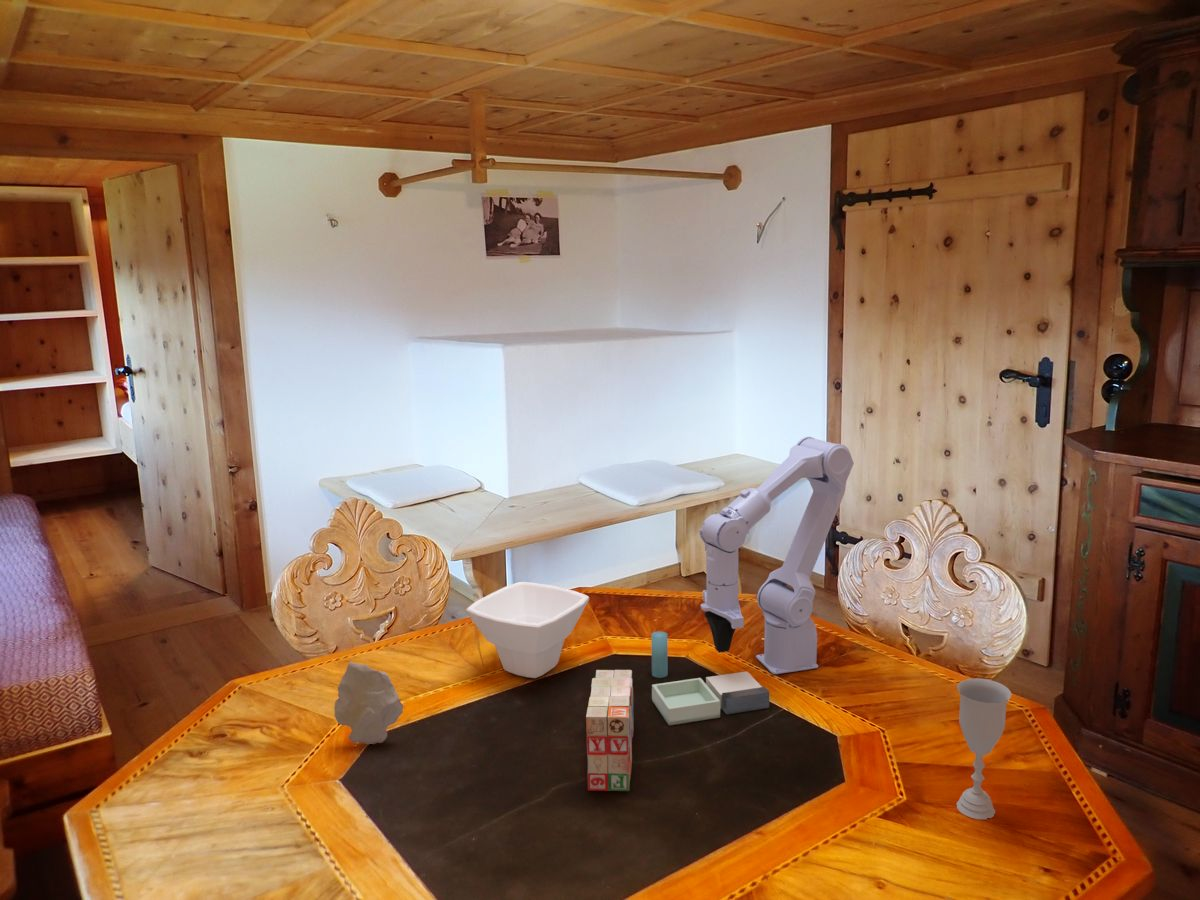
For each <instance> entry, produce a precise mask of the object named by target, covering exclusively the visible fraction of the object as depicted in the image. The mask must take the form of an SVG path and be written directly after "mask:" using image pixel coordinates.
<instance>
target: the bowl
mask: <svg viewBox="0 0 1200 900" xmlns="http://www.w3.org/2000/svg"><path fill="white" fill-rule="evenodd" d="M589 601H590V597H589V596H588V595H587V594H584V593H581V592H579V591H576V590H572V589H569V588H568V589H567V588H564V587H561V586H556V585H550V584H545V583H538V582H530V581H529V582H527V581H519V582H516V583H511V584H509V585H506V586H504V587H501V588H500V589H497V590H496V591H493V592H491V593H490V594H487V595H486V596H484V597H482V598H480V599H477V600H475V601H474V602H473V603H471V605H469V606H468V607H467V608H466V610H465V611H466V614H467V615H468V616H469V617H470V619H471V621H472V622H473V623H474V624H475V626H476V627H477V629H478V630H479V632H480V633H481V634H482V635H483V637H484V638H485V640H486V641H487V642H489V643H490V644H492V645H494V647H495V650H496V653H497V655H498V658H499V659H500V662H501V665H502V667H503V669H504V671H507V672H508V673H511V674H514V675H516V676H519V677H524V678H531V679H537V678H539V677H541V676H544V675H545V674H546V673H548V672H550V671H551V670H552V669H554V668H555V667H556V666H557V665H558V663H559V662H560V657H561V653H562V650H563V647H564V642H565V639H566V638H568V637H569V635H571V633H572V632H573V631H574V628H575V626H576V625H577V622H578V621H579V619H580V617H581V616H582V614H583V611H584V610H585V608H586V606H587V604H588V602H589Z"/></svg>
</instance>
